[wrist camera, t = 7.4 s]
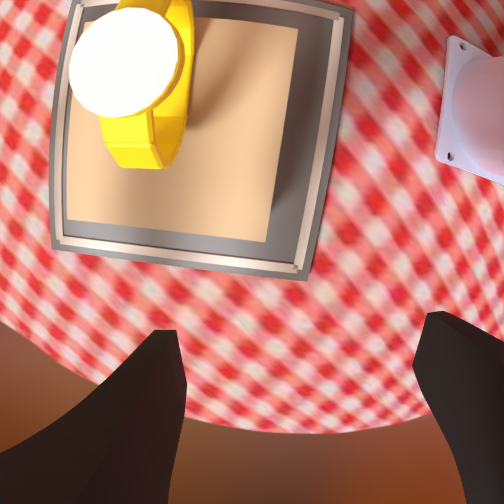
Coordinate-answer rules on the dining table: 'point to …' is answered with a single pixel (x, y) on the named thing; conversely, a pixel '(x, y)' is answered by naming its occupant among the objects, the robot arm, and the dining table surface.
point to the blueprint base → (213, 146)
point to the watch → (138, 78)
